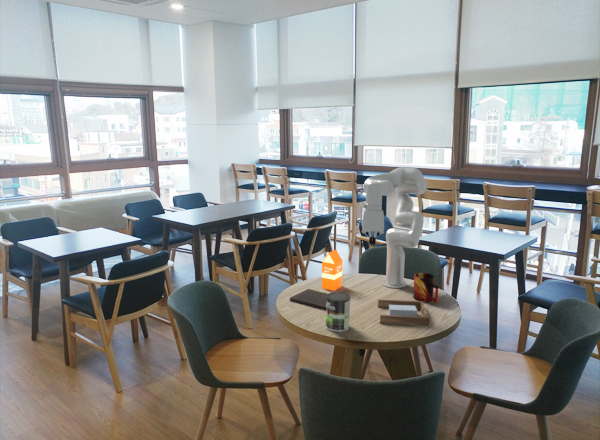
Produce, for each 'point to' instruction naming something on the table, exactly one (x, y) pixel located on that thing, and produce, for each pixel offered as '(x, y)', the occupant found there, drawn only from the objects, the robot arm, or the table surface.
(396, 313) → the tile
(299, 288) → the table surface
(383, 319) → the frame
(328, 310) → the coffee can
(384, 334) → the table surface
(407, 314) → the tile
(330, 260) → the orange juice
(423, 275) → the mug
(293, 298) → the hardcover book
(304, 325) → the table surface
